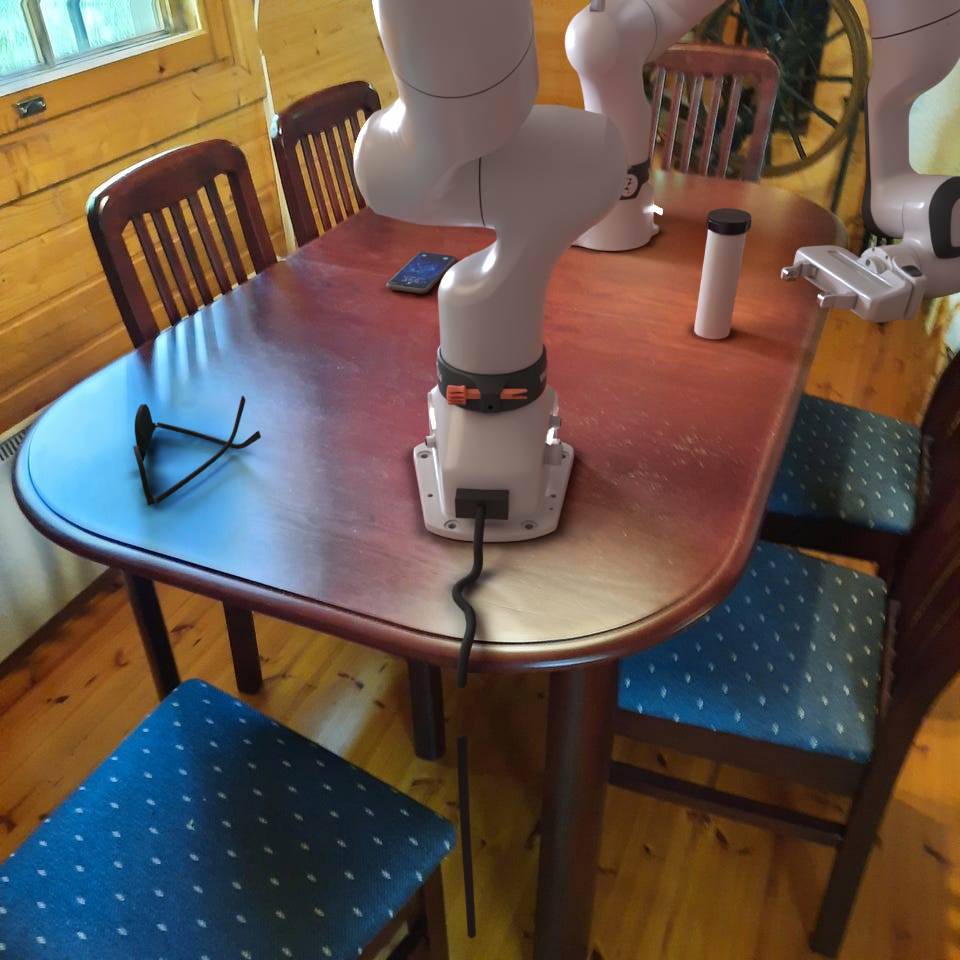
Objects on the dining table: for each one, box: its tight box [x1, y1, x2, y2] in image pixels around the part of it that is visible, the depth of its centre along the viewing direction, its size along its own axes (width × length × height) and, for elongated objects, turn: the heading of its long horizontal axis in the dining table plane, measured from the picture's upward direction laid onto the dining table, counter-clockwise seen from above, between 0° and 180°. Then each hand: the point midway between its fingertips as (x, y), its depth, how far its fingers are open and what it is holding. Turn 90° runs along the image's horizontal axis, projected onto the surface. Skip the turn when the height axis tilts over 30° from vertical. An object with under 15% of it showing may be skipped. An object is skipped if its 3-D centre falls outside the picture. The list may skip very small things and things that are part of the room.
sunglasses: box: [132, 395, 262, 506], centre depth 100 cm, size 17×14×5 cm
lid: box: [705, 207, 753, 235], centre depth 115 cm, size 6×6×2 cm
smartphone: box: [386, 251, 457, 295], centre depth 143 cm, size 7×1×15 cm
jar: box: [693, 228, 747, 340], centre depth 120 cm, size 5×5×17 cm
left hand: (557, 10), depth 100 cm, fingers open, 8 cm apart
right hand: (801, 287), depth 125 cm, fingers open, 8 cm apart
